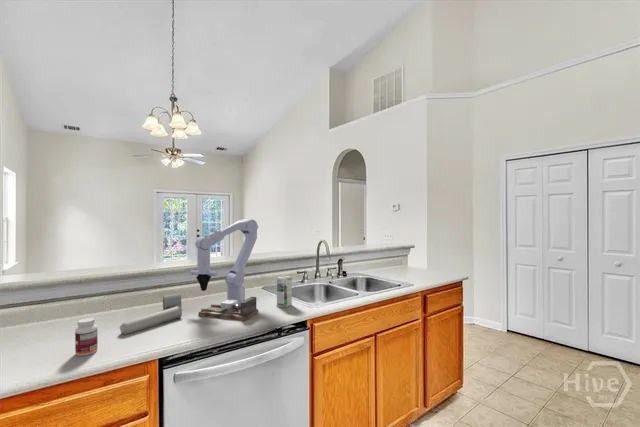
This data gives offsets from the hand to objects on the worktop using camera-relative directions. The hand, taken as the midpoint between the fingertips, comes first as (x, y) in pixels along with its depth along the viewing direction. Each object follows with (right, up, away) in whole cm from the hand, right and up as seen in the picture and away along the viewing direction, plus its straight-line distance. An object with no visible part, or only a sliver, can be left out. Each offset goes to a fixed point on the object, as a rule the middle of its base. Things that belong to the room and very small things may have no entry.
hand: (203, 290), depth 159 cm
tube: (-14, -10, -21) cm, 27 cm away
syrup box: (+38, -10, +7) cm, 40 cm away
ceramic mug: (-15, -10, -1) cm, 18 cm away
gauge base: (+14, -10, -6) cm, 18 cm away
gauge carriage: (+15, -8, -8) cm, 19 cm away
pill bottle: (-23, -10, -47) cm, 53 cm away
